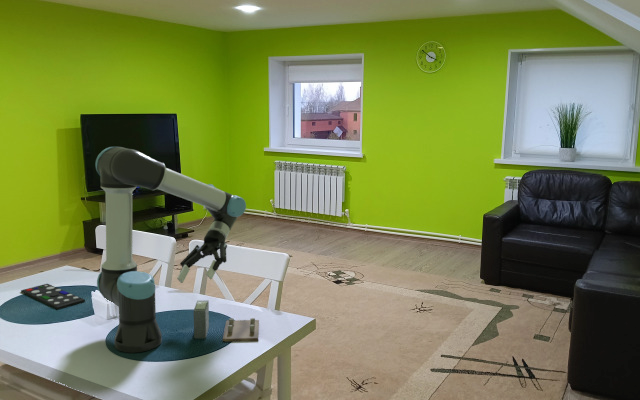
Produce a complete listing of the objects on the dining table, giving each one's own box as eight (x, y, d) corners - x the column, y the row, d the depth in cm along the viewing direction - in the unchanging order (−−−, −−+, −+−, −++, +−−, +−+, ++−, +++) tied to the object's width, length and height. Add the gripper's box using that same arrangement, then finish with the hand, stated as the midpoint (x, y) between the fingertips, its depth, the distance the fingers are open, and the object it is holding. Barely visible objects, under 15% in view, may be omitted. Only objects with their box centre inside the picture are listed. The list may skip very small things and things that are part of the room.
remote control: (47, 286, 241) (47, 282, 240) (85, 303, 223) (84, 298, 222) (21, 293, 232) (20, 289, 232) (58, 311, 214) (57, 306, 214)
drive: (194, 338, 191) (193, 310, 189) (197, 327, 200) (197, 300, 199) (205, 338, 191) (205, 310, 189) (208, 326, 201) (208, 300, 199)
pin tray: (222, 341, 189) (222, 331, 188) (226, 323, 204) (226, 314, 204) (258, 340, 190) (258, 331, 189) (258, 322, 206) (258, 313, 205)
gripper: (247, 238, 208) (227, 282, 193) (197, 246, 220) (174, 288, 205) (237, 224, 204) (215, 267, 189) (186, 233, 216) (162, 275, 201)
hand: (194, 278), depth 197 cm, fingers open, 13 cm apart
